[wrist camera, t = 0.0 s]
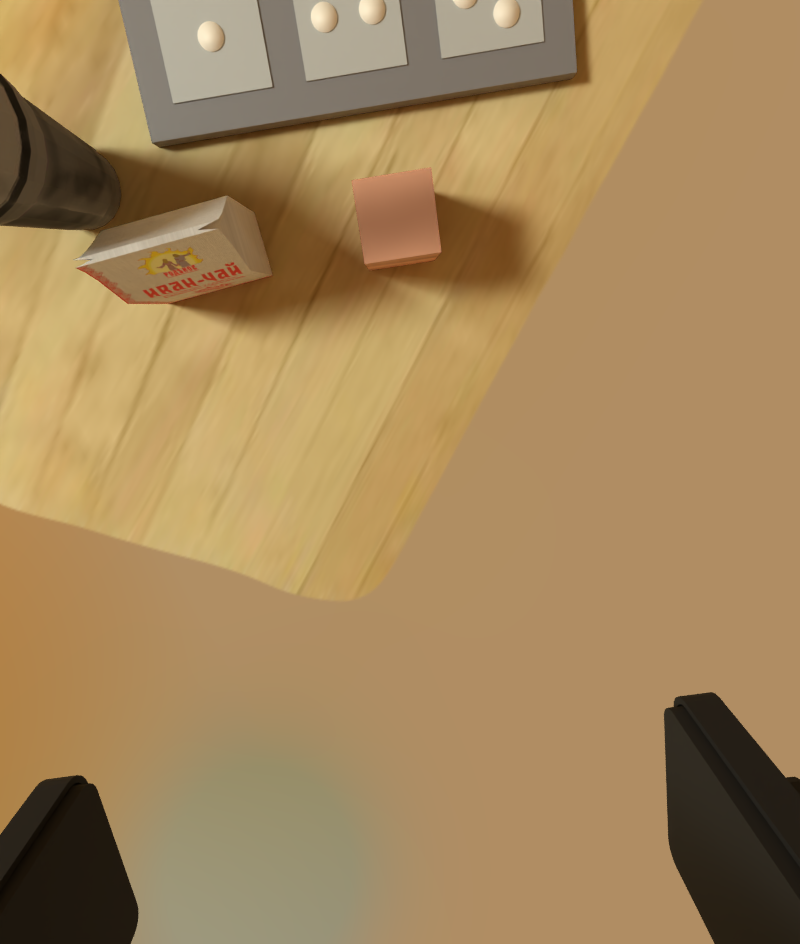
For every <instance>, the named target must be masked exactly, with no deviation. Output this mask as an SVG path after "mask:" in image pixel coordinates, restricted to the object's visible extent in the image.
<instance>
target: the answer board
mask: <svg viewBox="0 0 800 944" xmlns="http://www.w3.org/2000/svg"><path fill="white" fill-rule="evenodd" d="M119 5H120V9H121V13H122V17H123V22H124V26H125V30H126V34H127V39H128V43H129V47H130V51H131V56H132V60H133V64H134V69H135V73H136V77H137V81H138V86H139V90H140V94H141V98H142V103H143V107H144V111H145V115H146V120H147V124H148V128H149V132H150V137H151V141H152V143H153V144H155V145H156V146H158V147H163V146H169V145H175V144H181V143H187V142H193V141H199V140H205V139H211V138H217V137H223V136H229V135H236V134H242V133H248V132H254V131H260V130H266V129H272V128H278V127H284V126H290V125H296V124H302V123H308V122H314V121H320V120H326V119H332V118H338V117H344V116H350V115H356V114H362V113H368V112H375V111H381V110H387V109H393V108H399V107H405V106H411V105H417V104H423V103H429V102H435V101H441V100H447V99H453V98H459V97H465V96H471V95H477V94H483V93H489V92H495V91H501V90H507V89H514V88H520V87H526V86H532V85H538V84H544V83H550V82H556V81H562V80H568V79H572V78H573V77H574V75H575V74H576V73H577V64H576V47H575V31H574V14H573V0H119Z"/></svg>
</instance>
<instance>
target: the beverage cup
mask: <svg viewBox="0 0 800 944" xmlns="http://www.w3.org/2000/svg"><path fill="white" fill-rule="evenodd" d="M120 198H121V191H120V182H119V180H118V177H117V175H116V173H115V170H114V169H113V167H112V166H111V165H110V164H109V162H108V161H107V160H106V159H105V158H104V157H102V156H101V155H100V154H98V153H97V152H96V150H95V149H94V148H92V147H91V146H89V145H88V144H87V143H85V142H84V141H83V140H81V139H80V138H78V137H77V136H76V135H74V134H73V133H72V132H70V131H69V130H67V129H66V128H65V127H63V126H62V125H61V124H59V123H58V122H56V121H55V120H54V119H52V118H51V117H50V116H48V115H47V114H45V113H44V112H43V111H41V110H40V109H39V108H37V107H36V106H34V105H33V104H32V103H30V102H29V101H28V100H26V99H25V98H23V97H22V96H21V95H20V94H19V92H18V91H17V90H16V89H15V87H14V86H13V85H12V84H11V83H9V82H8V81H7V80H6V79H5V78H4V77H3V76H2V75H1V74H0V225H1V226H17V227H32V228H48V229H64V230H82V229H96V228H99V227H102V226H104V225H106V224H107V223H108V222H109V221H110V220H111V219H112V218H113V217H114V215H115V214H116V212H117V210H118V208H119V204H120Z"/></svg>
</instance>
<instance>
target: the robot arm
mask: <svg viewBox="0 0 800 944" xmlns="http://www.w3.org/2000/svg"><path fill="white" fill-rule="evenodd" d="M664 724H665V754H666V783H667V812H668V839H669V845H670V850H671V853H672V857H673V860H674V863H675V865H676V867H677V869H678V871H679V873H680V875H681V877H682V879H683V881H684V883H685V885H686V887H687V889H688V891H689V893H690V895H691V897H692V899H693V901H694V903H695V905H696V907H697V909H698V911H699V913H700V915H701V917H702V919H703V921H704V923H705V925H706V927H707V929H708V931H709V933H710V935H711V937H712V939H713V941H714V943H715V944H800V779H798V778H796V777H787V778H785V776H784V775H783V774H782V773H781V772H780V770H779V769H778V768H777V767H776V766H775V764H774V763H773V762H772V761H771V760H770V758H769V757H768V756H767V755H766V753H765V752H764V751H763V750H762V749H761V747H760V746H759V745H758V744H757V743H756V741H755V740H754V739H753V738H752V737H751V735H750V734H749V733H748V732H747V730H746V729H745V728H744V727H743V725H742V724H741V723H740V722H739V721H738V719H737V718H736V717H735V716H734V715H733V713H732V712H731V711H730V710H729V709H728V707H727V706H726V705H725V704H724V702H723V701H722V700H721V699H720V698H719V697H718V696H717V695H716V694H715V693H712V692H710V693H702V694H695V695H687V696H680V697H676V698H675V701H674V707H671V708H666V709H665V712H664ZM137 922H138V906H137V902H136V899H135V896H134V893H133V890H132V888H131V885H130V882H129V879H128V876H127V873H126V871H125V868H124V865H123V862H122V859H121V856H120V853H119V850H118V848H117V845H116V842H115V839H114V837H113V833H112V830H111V828H110V825H109V822H108V819H107V816H106V813H105V811H104V808H103V805H102V802H101V799H100V796H99V793H98V790H97V789H96V787H95V786H94V785H93V784H88V782H87V781H86V779H85V778H84V777H83V776H78V775H76V776H69V777H61V778H54V779H46V780H44V781H42V782H40V783H39V784H38V786H36V787H35V789H34V790H33V792H32V793H31V794H30V796H29V797H28V798H27V800H26V801H25V802H24V804H23V805H22V806H21V808H20V809H19V810H18V812H17V813H16V814H15V816H14V817H13V818H12V820H11V821H10V822H9V824H8V825H7V826H6V828H5V829H4V830H3V832H2V833H1V835H0V944H131V941H132V939H133V936H134V934H135V931H136V927H137Z"/></svg>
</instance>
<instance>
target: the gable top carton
mask: <svg viewBox="0 0 800 944" xmlns="http://www.w3.org/2000/svg"><path fill="white" fill-rule="evenodd" d="M74 260H90V261H88V262H86V263H84V264H83V265H81V266H79V267H77V269H79V270H81V271H83V272H86V273H87V274H89V275H90V276H92V277H93V278H95V279H96V280H98V281H99V282H101V283H102V284H103V285H104V286H106V287H107V288H108V289H110V290H111V291H112V292H113V293H115V294H116V295H117V296H118V297H120V298H121V299H122V300H124V301H125V302H126V303H127V304H170V303H173V302H177V301H181V300H184V299H188V298H192V297H195V296H199V295H203V294H207V293H210V292H214V291H218V290H221V289H225V288H229V287H232V286H236V285H240V284H244V283H247V282H251V281H255V280H258V279H262V278H266V277H269V276H273V274H272V270H271V267H270V264H269V260H268V257H267V254H266V250H265V247H264V244H263V240H262V237H261V233H260V230H259V227H258V223H257V220H256V217H255V213H254V212H253V211H251V210H250V209H248V208H246V207H245V206H243V205H242V204H240V203H239V202H237V201H236V200H234V199H232V198H231V197H229V196H228V195H227V196H223V197H220V198H216V199H213V200H209V201H206V202H202V203H198V204H195V205H191V206H188V207H184V208H181V209H177V210H173V211H170V212H166V213H163V214H159V215H156V216H152V217H148V218H145V219H141V220H138V221H134V222H131V223H127V224H124V225H120V226H116V227H113V228H109V229H106V230H102V231H101V232H100V233H99V234H98V236H97V237H96V239H95V240H94V241H93V243H92V244H91V246H90V247H89V248H88V250H87V251H86V252H85V253H84V254H83V255H82V256H81V257H79V258H77V259H74Z"/></svg>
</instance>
